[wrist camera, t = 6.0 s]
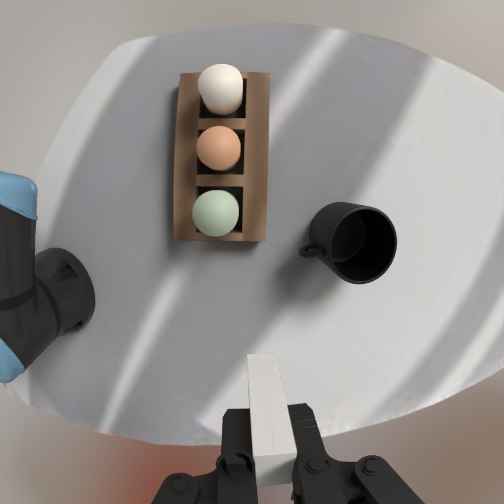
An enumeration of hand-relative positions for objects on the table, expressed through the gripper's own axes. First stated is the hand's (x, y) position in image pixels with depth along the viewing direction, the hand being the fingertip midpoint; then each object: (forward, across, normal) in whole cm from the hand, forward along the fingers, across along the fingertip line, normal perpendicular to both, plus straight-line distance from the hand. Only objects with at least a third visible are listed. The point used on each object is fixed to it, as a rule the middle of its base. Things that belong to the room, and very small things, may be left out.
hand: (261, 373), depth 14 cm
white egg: (+23, -3, +22) cm, 32 cm away
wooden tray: (+26, -3, +14) cm, 30 cm away
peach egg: (+25, -3, +14) cm, 29 cm away
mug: (+26, +12, +3) cm, 29 cm away
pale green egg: (+23, -4, +7) cm, 25 cm away
